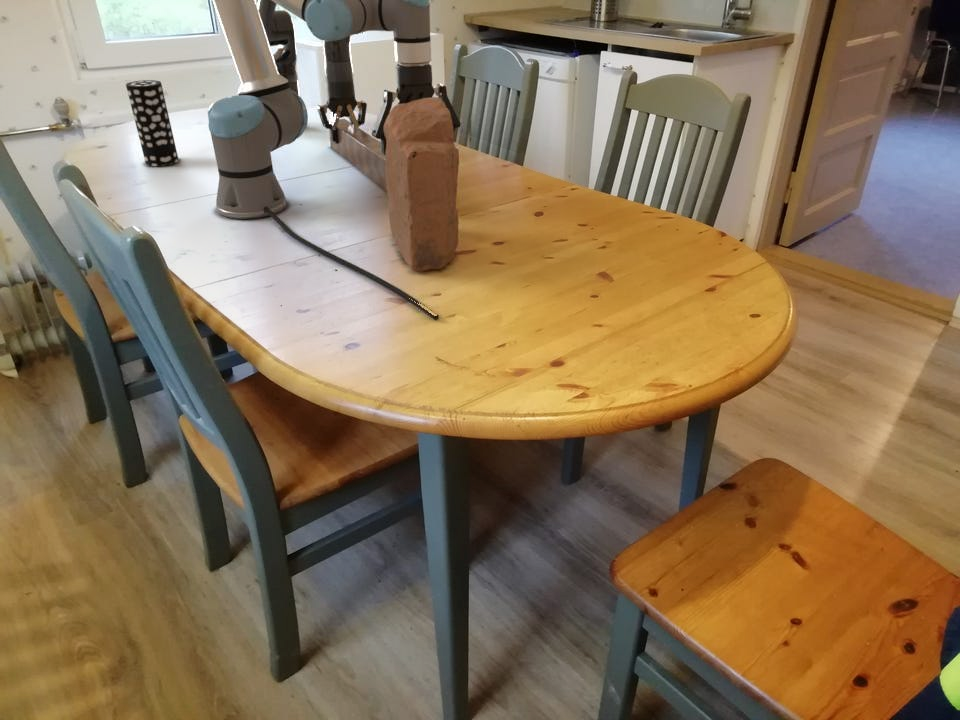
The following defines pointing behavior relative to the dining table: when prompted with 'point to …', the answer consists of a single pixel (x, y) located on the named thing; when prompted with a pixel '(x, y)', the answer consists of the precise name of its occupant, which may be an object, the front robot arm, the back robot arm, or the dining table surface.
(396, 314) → the dining table surface
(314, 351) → the dining table surface
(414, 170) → the stone
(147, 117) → the black white spotted cylinder
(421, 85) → the front robot arm
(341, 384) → the dining table surface
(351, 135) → the beam
